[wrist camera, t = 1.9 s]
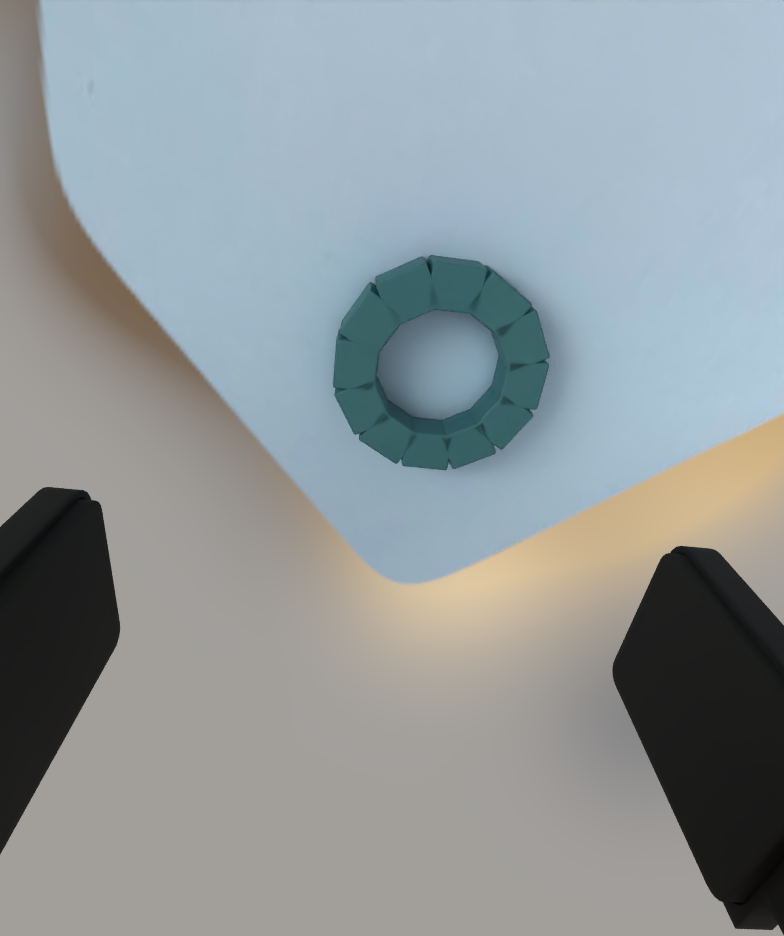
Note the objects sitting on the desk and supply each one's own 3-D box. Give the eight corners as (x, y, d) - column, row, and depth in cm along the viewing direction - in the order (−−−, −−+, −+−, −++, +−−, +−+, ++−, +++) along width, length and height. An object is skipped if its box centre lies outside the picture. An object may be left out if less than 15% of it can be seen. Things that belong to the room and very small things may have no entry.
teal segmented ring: (329, 442, 23) (327, 459, 22) (345, 243, 19) (343, 249, 18) (510, 460, 24) (518, 478, 23) (559, 272, 20) (573, 279, 19)
